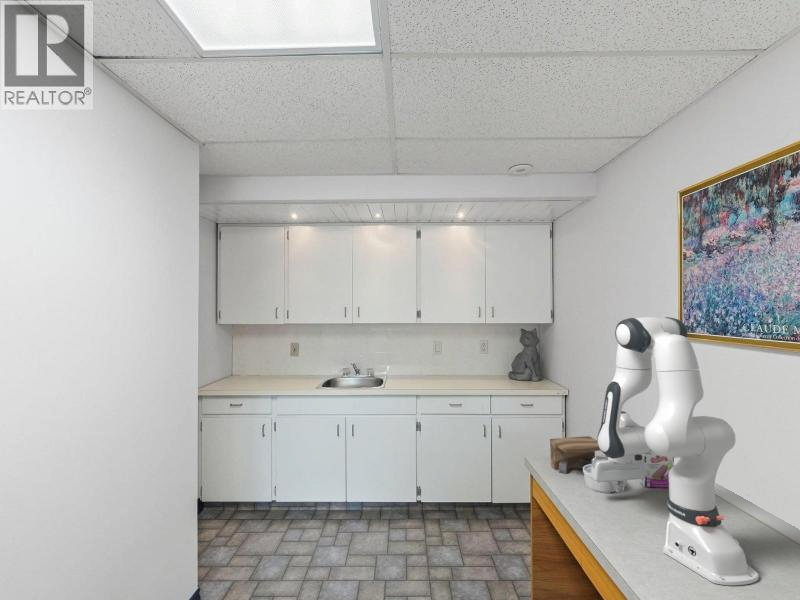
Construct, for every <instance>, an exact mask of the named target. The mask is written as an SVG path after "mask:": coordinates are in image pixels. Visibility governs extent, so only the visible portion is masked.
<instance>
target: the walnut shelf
mask: <svg viewBox="0 0 800 600" xmlns="http://www.w3.org/2000/svg"><path fill="white" fill-rule="evenodd" d="M549 445H550V447H549V449H550V450H549V451H550V467H551V468H552V469H553V470H554V471H558V473H560V474H564V475H567V474H568V473H569V471H571V469H572V470H573V469H582V470H583V467H584V466H585V465H589V464H592V459H593V458H594V457H595V456H596V452H598V451H600V452H602V451H601V450H600V449H599V447H598V444H597V439H595V438H593V437H592V436H590V435H587V436H586V435H585V436H573V437H572V436H571V437H561V438H560V437H557V438H550V439H549Z"/></svg>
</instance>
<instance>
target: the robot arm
mask: <svg viewBox="0 0 800 600" xmlns="http://www.w3.org/2000/svg"><path fill="white" fill-rule="evenodd" d="M614 335H615V339H616V342H617V347H616V354H615V372H614V376H613V378H612V380H611V382H610V383H609V384H608V385H607V387H606V391H605V396H604V400H603V401H604V402H603V409H602V415H601V423H600V427H599V430H598V433H597V437H596V440H597V444H598V447H599V449H600V450H601V451H600V452H601V453H602V455H595V457H594V458H593V459H592V469H591V477H592V478H593V479H594V480H595V481H596V482H610V481H611V483H612V484H613V486H614V491H615V492H614V493H623V492H625V487H626V485H627V483H628V482H627V481H631V480H640V479H644V478H645V477H646V464H645V462H644V461H643V460H644V458H645V457H644V455H643V454H645V453H649V452H650V451H652V452H653V453H655V454H656V455H659V456H665V457H672V458H674V459H676V458H677V459H678V458H679V459H678V461H677V463H674V466H673V467H672V468H671V469H670V471H669V488H668V496H667V502H666V503H667V510H668V512H669V515H668V518H667V523H666V531H665V532H666V533H665V539H664V545H663V547H662V553H664V554H665V555H667V556H669V557H670V558H672V559H673V560H675V561H677V562H678V563H680V564H681V565H683V566H685V567H687V568H688V569H690V570H691V571H693V572H694V573H696V574H698V575H700V576H702V577H703V578H704V579H706V580H708V582H709V581H710V582H711V583H713V584H717V585H722V586H744V585H750V584H754V583H755V582H758V580H759V578H760V576H759V573H758V572H757V571H756V570H755V569H754V568H752V567H751V566H750V565H748V563H747V559H746V558H747V557H746V554H745V552H744V549H743V548H742V546H740V542H739V541H738V539H736V538H734V537H733V536H732V535H731V533H730V532H729V531H728V529H726V527H725V526H724V525H723V523H722V521H724V520H725V518H724V517H725V515H721V514H720V513H719V511H718V508H717V505H716V497H715V495H716V494H715V493H716V491H715V488H716V486H715V484H716V477H717V475H718V470H719V468H720V466H721V463H722V461H723V459H724V458H725V456H726V455H727V454H728V453H729V452H730V450H732V449H733V448H734V446H735V444H736V433H735V431H734V429H733V427H732V426H731V425H730V424H729V423H728V422H727V420H724V419H723V418H720V417H714V416H707V415H698V416H693V415H694V410H695V407H696V405H697V404H698V403H699V402H701V400H703V398H704V388H703V383H702V378H701V373H700V368H699V367H700V366H699V363H698V358H697V356H696V353H695V350H694V347H693V345H692V342H691V341H690V339H689V338H688V329H687V327H686V324H685V323H684V322H683V321H682V320H680V319H678V318H676V317H675V318H674V317H669V316H668V317H667V316H666V317H659V316H658V317H655V316H641V317H628V318H625V319H622V320H620V321H619V322H618V323H617V325H616V327H615V332H614ZM652 357H653V359H654V364H655V365H654V366H655V372H656V379H657V386H658V394H659V396H658V405H657V409H656V412H655V413H654V416H653V418H652V419H651V421H650V422H649V423H647V425H646V426H645V427H644V426H641V424H640V425H639V424H638V423H637V422H635V421H634V420H633V418H631V416H630V414H629V413H628V412H626V411H622V409H623V406H624V405H625V404H626V402H627V401H628V400H630V399H632V398H633V397H635V396H637V395H639V394H641V393H643V392H644V391H646V390H647V389H648V387H650V385H651V383H652V380H653V379H652V377H653V367H652V365H653V363H652ZM618 481H620V483H618ZM616 483H618V486H617V484H616Z"/></svg>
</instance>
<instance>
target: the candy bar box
mask: <svg viewBox="0 0 800 600" xmlns="http://www.w3.org/2000/svg"><path fill="white" fill-rule="evenodd" d="M643 455H644V457H645V458H644V460H643V461H644V462H645V464H646V477H645V478H644V479H639V484H641V485H642V486H643V485H644V486H645V487H644V486H643V487H644V488H646V487H648V488H647V489H649V488H650V489H651V488H652V489H653V488H656V489H657V488H658V489H662V488H663V489H669V471H670V469H671V468H672V467H673V466H674V465H675V461H674V460H675V458H672V457H665V456H659V455H656V454H655V453H653V452H652V451H650V452H649V453H645V454H643Z"/></svg>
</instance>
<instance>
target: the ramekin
mask: <svg viewBox="0 0 800 600" xmlns="http://www.w3.org/2000/svg"><path fill="white" fill-rule="evenodd" d="M591 469H592V464H589V465H585V466H584V467H583V469H582V472H583V477H584V481H585V484H586V486H587V488H589V489H590V490H591V489H592V490H591V491H594V492H597V491H598V493H601V492H602V493H601V494H610V493H611V492H612V493H615V492H614V486H613V484H612V483H611V481H610V482H596V481H595V480H594V479H593V478H592V477H591ZM616 484H617V486H618V485H619V484H620V483H619V481H618V483H616Z"/></svg>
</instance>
